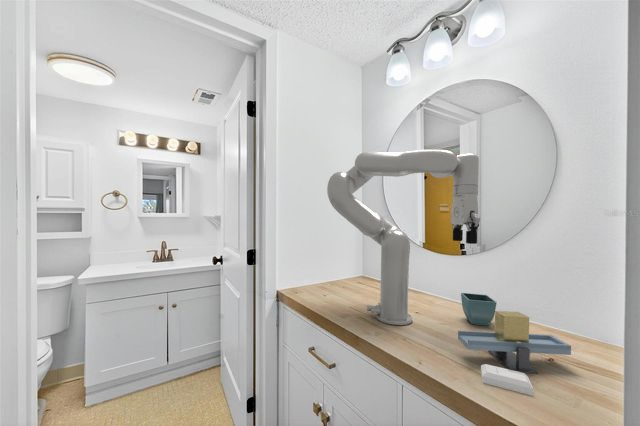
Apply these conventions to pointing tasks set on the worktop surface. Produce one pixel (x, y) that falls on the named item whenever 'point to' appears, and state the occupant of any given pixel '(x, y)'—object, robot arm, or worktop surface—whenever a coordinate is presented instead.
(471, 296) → the flower pot
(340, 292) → the worktop surface
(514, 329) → the block
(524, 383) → the soap bar
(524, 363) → the stand
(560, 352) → the beam
